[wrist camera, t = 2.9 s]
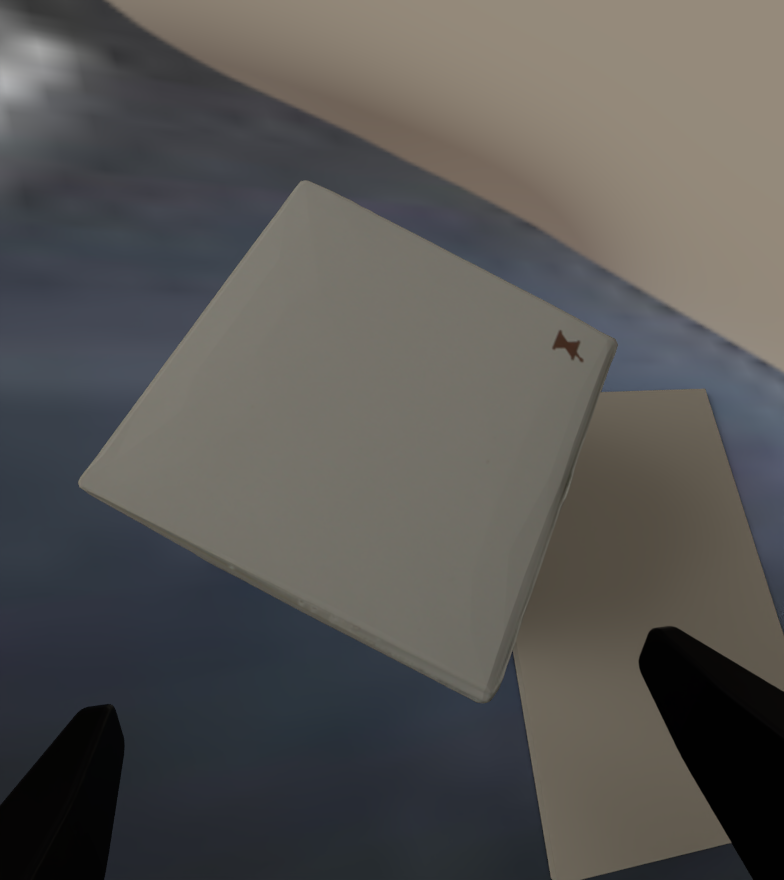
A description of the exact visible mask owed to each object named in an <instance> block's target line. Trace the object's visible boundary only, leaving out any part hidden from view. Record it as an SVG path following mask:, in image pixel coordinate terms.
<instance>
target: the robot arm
mask: <svg viewBox="0 0 784 880" xmlns="http://www.w3.org/2000/svg"><path fill="white" fill-rule="evenodd" d="M638 663H639V669H640V672H641V675H642V677H643V679H644V681H645V683H646V685H647V687H648V689H649V691H650V693H651V695H652V698H653V700H654V702H655V704H656V706H657V708H658V710H659V712H660V714H661V716H662V718H663V720H664V723H665V725H666V727H667V729H668V731H669V733H670V735H671V737H672V739H673V741H674V743H675V745H676V747H677V749H678V751H679V753H680V755H681V757H682V759H683V761H684V762H685V764H686V766H687V768H688V770H689V771H690V773H691V775H692V777H693V778H694V780H695V782H696V783H697V785H698V787H699V788H700V790H701V792H702V794H703V795H704V797H705V799H706V800H707V802H708V804H709V805H710V807H711V809H712V811H713V812H714V814H715V816H716V817H717V819H718V821H719V822H720V824H721V826H722V828H723V829H724V831H725V833H726V834H727V836H728V838H729V839H730V841H731V843H732V844H733V846H734V848H735V850H736V851H737V853H738V855H739V856H740V858H741V860H742V861H743V863H744V865H745V867H746V868H747V870H748V872H749V873H750V875H751V877H752V878H753V880H784V691H782V690H780V689H779V688H777V687H775V686H774V685H772V684H770V683H769V682H767V681H765V680H764V679H762V678H760V677H759V676H757V675H755V674H754V673H752V672H750V671H749V670H747V669H745V668H744V667H742V666H740V665H739V664H737V663H735V662H734V661H732V660H730V659H729V658H727V657H725V656H724V655H722V654H720V653H719V652H717V651H715V650H714V649H712V648H710V647H709V646H707V645H705V644H704V643H702V642H700V641H699V640H697V639H695V638H694V637H692V636H690V635H689V634H687V633H685V632H684V631H682V630H680V629H678V628H677V627H674V626H664V627H657V628H653V629H651V630H650V631H649V633H648V635H647V638H646V640H645V643H644V645H643V648H642V651H641V653H640V656H639V662H638ZM123 758H124V736H123V733H122V730H121V726H120V723H119V720H118V716H117V713H116V710H115V708H114V706H113V705H111V704H105V705H98V706H90V707H86V708H83V709H82V710H80V711H79V712H78V713H77V714H76V715H75V716H74V717H73V719H72V720H71V721H70V722H69V723H68V725H67V726H66V727H65V728H64V729H63V731H62V732H61V733H60V734H59V735H58V737H57V738H56V739H55V740H54V741H53V743H52V744H51V745H50V746H49V747H48V749H47V750H46V751H45V752H44V753H43V755H42V756H41V757H40V758H39V759H38V761H37V762H36V763H35V764H34V765H33V767H32V768H31V769H30V770H29V771H28V773H27V774H26V775H25V776H24V777H23V779H22V780H21V781H20V782H19V783H18V785H17V786H16V787H15V788H14V789H13V791H12V792H11V793H10V794H9V795H8V797H7V798H6V799H5V800H4V801H3V803H2V804H1V805H0V880H104V877H105V873H106V867H107V861H108V855H109V849H110V842H111V836H112V829H113V823H114V816H115V810H116V803H117V797H118V790H119V784H120V777H121V771H122V764H123Z"/></svg>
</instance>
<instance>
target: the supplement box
mask: <svg viewBox="0 0 784 880" xmlns="http://www.w3.org/2000/svg"><path fill="white" fill-rule="evenodd" d="M617 346H618V344H617V342H616V340H615V339H614V338H612V337H610V336H608V335H606V334H604V333H602V332H600V331H598V330H596V329H595V328H593V327H591V326H590V325H588V324H586V323H584V322H583V321H581V320H579V319H577V318H576V317H574V316H572V315H570V314H568V313H566V312H564V311H562V310H561V309H559V308H557V307H555V306H553V305H551V304H549V303H547V302H546V301H544V300H542V299H540V298H538V297H536V296H534V295H532V294H530V293H528V292H526V291H524V290H522V289H520V288H518V287H516V286H514V285H513V284H511V283H509V282H507V281H505V280H503V279H501V278H499V277H497V276H495V275H493V274H491V273H489V272H488V271H486V270H484V269H482V268H480V267H478V266H476V265H474V264H472V263H470V262H468V261H466V260H464V259H462V258H460V257H458V256H456V255H454V254H452V253H450V252H449V251H447V250H445V249H443V248H441V247H439V246H437V245H435V244H433V243H431V242H430V241H428V240H426V239H424V238H422V237H420V236H418V235H416V234H414V233H412V232H410V231H408V230H406V229H404V228H402V227H400V226H398V225H396V224H394V223H392V222H391V221H389V220H387V219H385V218H383V217H381V216H379V215H377V214H375V213H373V212H372V211H370V210H368V209H366V208H363V207H361V206H359V205H358V204H356V203H354V202H353V201H351V200H349V199H346V198H344V197H342V196H340V195H338V194H336V193H334V192H332V191H330V190H328V189H326V188H323V187H321V186H319V185H316V184H314V183H312V182H310V181H301V182H300V183H299V184H298V185H297V187H296V188H295V189H294V190H293V192H292V193H291V194H290V196H289V197H288V199H287V200H286V201H285V203H284V204H283V205H282V207H281V208H280V210H279V211H278V212H277V214H276V215H275V216H274V218H273V219H272V220H271V222H270V223H269V224H268V225H267V227H266V228H265V229H264V231H263V232H262V233H261V235H260V236H259V237H258V239H257V240H256V241H255V243H254V244H253V246H252V247H251V248H250V250H249V251H248V252H247V254H246V255H245V256H244V258H243V259H242V260H241V262H240V263H239V264H238V266H237V267H236V268H235V270H234V271H233V272H232V274H231V275H230V276H229V278H228V279H227V280H226V282H225V283H224V285H223V286H222V287H221V289H220V290H219V291H218V293H217V294H216V295H215V297H214V298H213V299H212V301H211V302H210V303H209V305H208V306H207V308H206V309H205V310H204V312H203V313H202V314H201V316H200V317H199V318H198V320H197V321H196V322H195V324H194V325H193V326H192V328H191V329H190V330H189V332H188V333H187V335H186V336H185V337H184V339H183V340H182V341H181V343H180V344H179V345H178V347H177V348H176V349H175V351H174V352H173V353H172V355H171V356H170V357H169V359H168V360H167V362H166V363H165V364H164V366H163V367H162V368H161V370H160V371H159V372H158V374H157V375H156V376H155V378H154V379H153V381H152V382H151V383H150V385H149V386H148V387H147V389H146V390H145V391H144V393H143V394H142V396H141V397H140V398H139V400H138V401H137V402H136V404H135V405H134V406H133V408H132V409H131V410H130V412H129V413H128V415H127V416H126V417H125V419H124V420H123V421H122V423H121V424H120V425H119V427H118V428H117V429H116V431H115V432H114V433H113V435H112V436H111V437H110V439H109V440H108V442H107V443H106V444H105V446H104V447H103V448H102V450H101V451H100V453H99V454H98V455H97V457H96V458H95V459H94V461H93V462H92V463H91V464H90V466H89V467H88V468H87V470H86V471H85V472H84V473H83V475H82V476H81V477H80V480H79V482H78V484H79V487H80V488H82V489H83V490H84V491H86V492H87V493H88V494H90V495H92V496H93V497H95V498H97V499H98V500H100V501H102V502H104V503H105V504H107V505H109V506H111V507H113V508H114V509H116V510H118V511H120V512H122V513H123V514H125V515H127V516H129V517H131V518H132V519H134V520H136V521H138V522H140V523H141V524H143V525H145V526H147V527H149V528H150V529H152V530H154V531H156V532H157V533H159V534H161V535H163V536H164V537H166V538H168V539H170V540H172V541H173V542H175V543H177V544H179V545H180V546H182V547H184V548H186V549H187V550H189V551H191V552H193V553H194V554H196V555H197V556H199V557H201V558H202V559H204V560H205V561H207V562H209V563H211V564H213V565H215V566H217V567H219V568H221V569H222V570H224V571H226V572H228V573H230V574H232V575H234V576H236V577H238V578H240V579H242V580H244V581H246V582H247V583H249V584H251V585H252V586H255V587H257V588H258V589H260V590H262V591H264V592H266V593H268V594H270V595H272V596H273V597H275V598H277V599H279V600H281V601H283V602H285V603H287V604H288V605H290V606H292V607H294V608H296V609H298V610H300V611H302V612H304V613H305V614H307V615H309V616H311V617H313V618H315V619H317V620H319V621H321V622H322V623H324V624H326V625H328V626H330V627H332V628H334V629H336V630H338V631H340V632H342V633H344V634H346V635H348V636H350V637H352V638H354V639H356V640H358V641H360V642H362V643H364V644H365V645H367V646H369V647H371V648H373V649H375V650H377V651H379V652H381V653H383V654H385V655H387V656H389V657H391V658H393V659H395V660H397V661H398V662H400V663H402V664H404V665H406V666H408V667H410V668H412V669H414V670H416V671H418V672H420V673H422V674H424V675H426V676H428V677H429V678H431V679H433V680H435V681H437V682H439V683H441V684H443V685H445V686H447V687H449V688H450V689H452V690H454V691H456V692H458V693H460V694H462V695H464V696H466V697H468V698H470V699H471V700H473V701H475V702H477V703H487V702H489V701H491V700H492V698H493V697H494V695H495V694H496V692H497V691H498V689H499V687H500V684H501V682H502V680H503V677H504V674H505V670H506V667H507V664H508V661H509V659H510V656H511V653H512V650H513V648H514V645H515V642H516V639H517V636H518V633H519V630H520V627H521V623H522V620H523V617H524V614H525V611H526V608H527V605H528V602H529V600H530V597H531V594H532V591H533V588H534V585H535V582H536V579H537V577H538V574H539V571H540V568H541V565H542V562H543V559H544V556H545V553H546V550H547V547H548V544H549V541H550V538H551V535H552V532H553V530H554V527H555V524H556V521H557V518H558V516H559V513H560V511H561V508H562V506H563V503H564V501H565V498H566V496H567V493H568V490H569V488H570V485H571V482H572V479H573V475H574V470H575V466H576V463H577V460H578V457H579V454H580V451H581V448H582V446H583V443H584V440H585V437H586V434H587V431H588V428H589V425H590V422H591V419H592V416H593V413H594V410H595V407H596V405H597V402H598V399H599V396H600V393H601V390H602V387H603V384H604V381H605V379H606V376H607V373H608V370H609V367H610V364H611V362H612V360H613V357H614V355H615V353H616V349H617Z"/></svg>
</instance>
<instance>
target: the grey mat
mask: <svg viewBox="0 0 784 880" xmlns="http://www.w3.org/2000/svg"><path fill="white" fill-rule="evenodd" d="M664 626H674V627H677V628H678V629H680V630H682V631H684V632H685V633H687V634H689V635H690V636H692V637H694V638H695V639H697V640H699V641H700V642H702V643H704V644H705V645H707V646H709V647H710V648H712V649H714V650H715V651H717V652H719V653H720V654H722V655H724V656H725V657H727V658H729V659H730V660H732V661H734V662H735V663H737V664H739V665H740V666H742V667H744V668H745V669H747V670H749V671H750V672H752V673H754V674H755V675H757V676H759V677H760V678H762V679H764V680H765V681H767V682H769V683H770V684H772V685H774V686H775V687H777V688H779V689H780V690H782V691H784V635H783V632H782V629H781V626H780V622H779V619H778V616H777V613H776V610H775V607H774V604H773V600H772V597H771V594H770V591H769V588H768V585H767V582H766V578H765V575H764V572H763V569H762V566H761V563H760V560H759V556H758V553H757V550H756V547H755V544H754V541H753V538H752V535H751V531H750V528H749V525H748V522H747V519H746V516H745V513H744V509H743V506H742V503H741V500H740V497H739V494H738V491H737V487H736V484H735V481H734V478H733V475H732V472H731V469H730V465H729V462H728V459H727V456H726V453H725V450H724V447H723V444H722V440H721V437H720V434H719V431H718V428H717V425H716V422H715V418H714V415H713V412H712V409H711V406H710V403H709V400H708V396H707V393H706V390H705V389H683V390H653V391H623V392H601V393H600V396H599V399H598V402H597V405H596V407H595V410H594V413H593V416H592V419H591V422H590V425H589V428H588V431H587V434H586V437H585V440H584V443H583V446H582V448H581V451H580V454H579V457H578V460H577V463H576V466H575V470H574V475H573V479H572V482H571V485H570V488H569V490H568V493H567V496H566V498H565V501H564V503H563V506H562V508H561V511H560V513H559V516H558V518H557V521H556V524H555V527H554V530H553V532H552V535H551V538H550V541H549V544H548V547H547V550H546V553H545V556H544V559H543V562H542V565H541V568H540V571H539V574H538V577H537V579H536V582H535V585H534V588H533V591H532V594H531V597H530V600H529V602H528V605H527V608H526V611H525V614H524V617H523V620H522V623H521V627H520V630H519V633H518V636H517V639H516V642H515V645H514V648H513V655H514V661H515V667H516V673H517V679H518V685H519V691H520V696H521V702H522V708H523V714H524V720H525V726H526V732H527V738H528V744H529V750H530V756H531V762H532V768H533V774H534V780H535V786H536V792H537V798H538V804H539V810H540V815H541V821H542V827H543V833H544V839H545V845H546V851H547V857H548V863H549V869H550V875H551V879H552V880H581V879H585V878H589V877H593V876H597V875H602V874H606V873H610V872H614V871H618V870H622V869H626V868H630V867H634V866H638V865H642V864H646V863H650V862H655V861H659V860H663V859H667V858H671V857H675V856H679V855H683V854H687V853H691V852H695V851H699V850H704V849H708V848H712V847H716V846H720V845H724V844H728V843H731V841H730V839H729V838H728V836H727V834H726V833H725V831H724V829H723V828H722V826H721V824H720V822H719V821H718V819H717V817H716V816H715V814H714V812H713V811H712V809H711V807H710V805H709V804H708V802H707V800H706V799H705V797H704V795H703V794H702V792H701V790H700V788H699V787H698V785H697V783H696V782H695V780H694V778H693V777H692V775H691V773H690V771H689V770H688V768H687V766H686V764H685V762H684V761H683V759H682V757H681V755H680V753H679V751H678V749H677V747H676V745H675V743H674V741H673V739H672V737H671V735H670V733H669V731H668V729H667V727H666V725H665V723H664V720H663V718H662V716H661V714H660V712H659V710H658V708H657V706H656V704H655V702H654V700H653V698H652V695H651V693H650V691H649V689H648V687H647V685H646V683H645V681H644V679H643V677H642V675H641V672H640V669H639V663H638V662H639V656H640V653H641V651H642V648H643V645H644V643H645V640H646V638H647V635H648V633H649V631H650V630H651V629H653V628H657V627H664Z"/></svg>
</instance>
